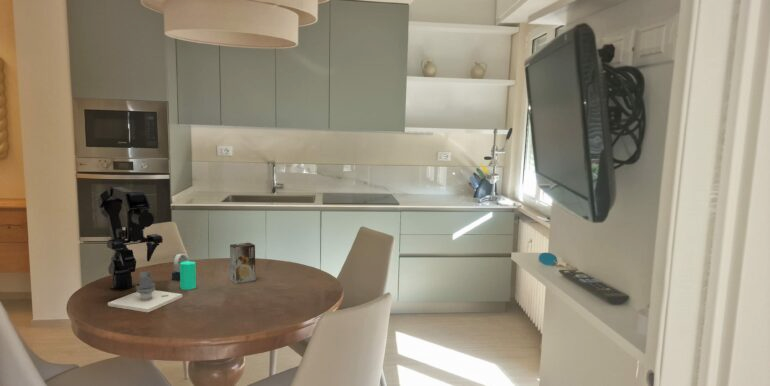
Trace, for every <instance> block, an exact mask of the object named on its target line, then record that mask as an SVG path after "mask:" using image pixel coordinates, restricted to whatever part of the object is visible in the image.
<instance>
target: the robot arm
mask: <svg viewBox="0 0 770 386" xmlns="http://www.w3.org/2000/svg"><path fill="white" fill-rule="evenodd" d="M96 204H97V207H98V208H99V211H100V213H101V214H102V216H104V217H105V219H106V220H107V221H106V222H107V226H108V230H109V235H110V238H111V239H108V240H107V242H106V248H109V249H110V250H113V253H112V255H111V258H110V260H111V261H110V264H109V266H108V267H107V268H108V269H107V271H108V274H109V275H111V276H112V286H110V288H109V289H111V290H112V289H113V290H119V291H124V290H127V289H130V288H132V287H135V284H133V276H132V273H135V272H136V267H137V260H136V257H135V256H134V251H133V249H130V248H128V247H127V245H128V246H129V245H135V244H136V245H137V244H143V243H145V244H146V247H147V249H146V261H147V262H150V261H151V259H152V256H153V254H154V252H155V250H156V249H157V248H158V246H160V244H162V243H164V242H163V241H164V240H163V236H162V235H160V234H157V233H152V234H147V235H146V237H145V234H144V230H145V229H146V228H149V227H150V226H152V225H153V224H154V222H155V217H154V215H153V213H151V212H149V210H150V209H151V207H150V205H151V203H150V201H149V199H148V197H147V195H146V193H145V191H143V190H130V189H128V188H125V187H123V186H122V185H110V186H108V187H107V188H106V190H105V191H103V192H102V193H100V194H99V196H98V199H97V203H96ZM122 205H124V207H125V209H124V210H125V211H126V225H125V229H123V225H122V221H121V218H120V213H121V211H122V208H123V206H122Z"/></svg>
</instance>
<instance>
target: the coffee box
mask: <svg viewBox="0 0 770 386" xmlns="http://www.w3.org/2000/svg"><path fill="white" fill-rule="evenodd" d="M229 261H230V263H229V264H230V265H229V266H230V267H229V268H230V269H229V270H230V281H231V282H232V283H234V284H235V285H237V284H241V283H248V282H253V281H256V280H257V278H256V276H257V275H256V274H257V273H256V244H254V243H252V242H241V243H235V244H234V243H233V244H229Z"/></svg>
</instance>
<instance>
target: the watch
mask: <svg viewBox="0 0 770 386" xmlns="http://www.w3.org/2000/svg"><path fill="white" fill-rule="evenodd" d="M185 261H190V257H189V256H188V255H187V254H185V253H177V254H176V255H175V257H174V259H173V265H172V266H173V269H174V271H173V272H171V280H172V281H180V263H181V262H185Z"/></svg>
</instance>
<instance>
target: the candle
mask: <svg viewBox="0 0 770 386" xmlns="http://www.w3.org/2000/svg"><path fill="white" fill-rule="evenodd" d="M196 265H197V264H196V262H195V261H190V260H189V261H185V262H181V263H180V262H179V267H180V280H179V281H180V283H179V285H180V287H179V288H180V289H181V290H194V289H195V288H196V287H197V276H196V275H197V274H196V273H197V269H196V268H197V266H196Z"/></svg>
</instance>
